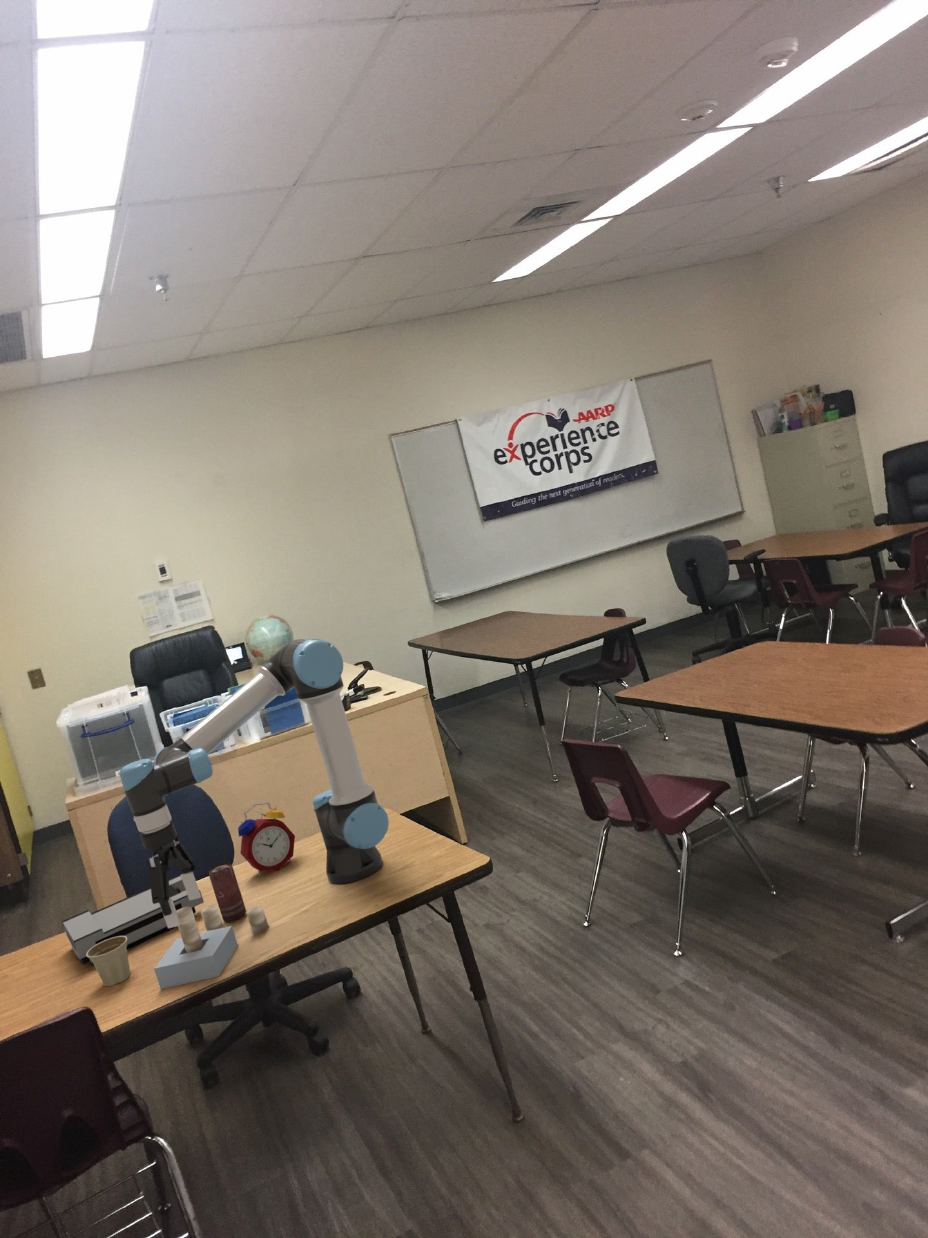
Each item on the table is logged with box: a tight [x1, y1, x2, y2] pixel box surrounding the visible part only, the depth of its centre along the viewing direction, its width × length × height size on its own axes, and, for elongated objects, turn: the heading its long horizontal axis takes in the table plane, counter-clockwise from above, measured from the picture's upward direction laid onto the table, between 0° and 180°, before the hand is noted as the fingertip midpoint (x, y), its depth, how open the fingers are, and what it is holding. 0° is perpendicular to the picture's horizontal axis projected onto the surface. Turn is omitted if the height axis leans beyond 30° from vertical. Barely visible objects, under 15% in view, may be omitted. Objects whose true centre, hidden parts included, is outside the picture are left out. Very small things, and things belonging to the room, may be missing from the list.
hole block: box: [154, 925, 239, 990], centre depth 213 cm, size 14×14×5 cm
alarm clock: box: [237, 801, 296, 877], centre depth 265 cm, size 15×9×20 cm, turn 123°
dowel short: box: [246, 906, 270, 935], centre depth 225 cm, size 4×4×5 cm
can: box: [208, 862, 247, 924], centre depth 236 cm, size 6×6×14 cm
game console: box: [61, 874, 205, 967], centre depth 245 cm, size 21×32×8 cm, turn 122°
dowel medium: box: [200, 904, 225, 932], centre depth 226 cm, size 4×4×8 cm
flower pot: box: [86, 936, 132, 987], centre depth 218 cm, size 9×9×9 cm
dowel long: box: [176, 906, 204, 953], centre depth 213 cm, size 4×4×14 cm
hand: (185, 912), depth 212 cm, fingers open, 13 cm apart
